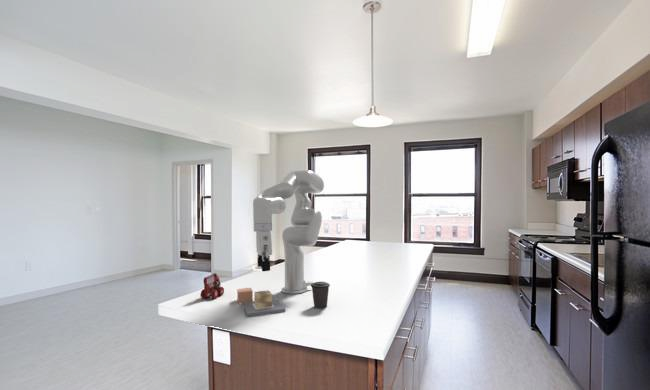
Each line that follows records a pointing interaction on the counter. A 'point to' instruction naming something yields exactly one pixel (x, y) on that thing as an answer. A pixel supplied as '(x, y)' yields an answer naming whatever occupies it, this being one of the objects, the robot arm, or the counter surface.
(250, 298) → the terracotta brick
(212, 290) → the toy fire truck
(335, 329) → the counter surface
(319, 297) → the coffee cup
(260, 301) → the oak brick
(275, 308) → the baseplate
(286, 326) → the counter surface
